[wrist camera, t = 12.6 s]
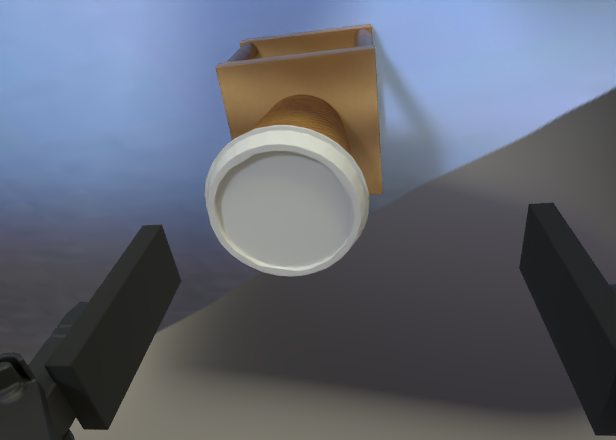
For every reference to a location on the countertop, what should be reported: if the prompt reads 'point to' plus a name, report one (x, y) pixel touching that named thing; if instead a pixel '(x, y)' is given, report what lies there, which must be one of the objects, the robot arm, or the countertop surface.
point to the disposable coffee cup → (288, 190)
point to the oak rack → (310, 85)
